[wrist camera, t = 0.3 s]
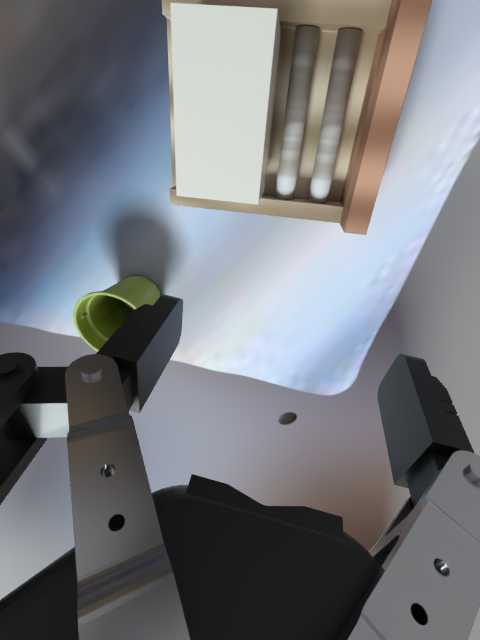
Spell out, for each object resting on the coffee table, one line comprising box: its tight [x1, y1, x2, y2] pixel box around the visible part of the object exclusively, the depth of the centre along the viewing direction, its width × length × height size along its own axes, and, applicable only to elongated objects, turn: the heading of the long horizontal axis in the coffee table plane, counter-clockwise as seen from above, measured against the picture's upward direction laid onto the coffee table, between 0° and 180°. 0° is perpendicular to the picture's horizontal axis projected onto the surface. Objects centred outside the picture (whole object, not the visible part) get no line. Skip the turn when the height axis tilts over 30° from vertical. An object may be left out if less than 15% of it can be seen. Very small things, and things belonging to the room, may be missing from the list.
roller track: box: [162, 0, 432, 235], centre depth 29 cm, size 18×21×7 cm
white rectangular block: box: [170, 3, 281, 204], centre depth 27 cm, size 12×7×7 cm, turn 176°
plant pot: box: [73, 276, 161, 352], centre depth 41 cm, size 9×9×9 cm
